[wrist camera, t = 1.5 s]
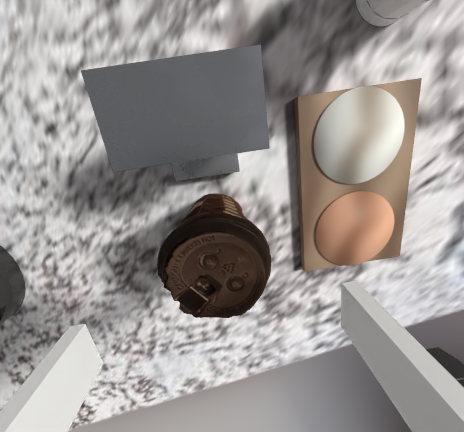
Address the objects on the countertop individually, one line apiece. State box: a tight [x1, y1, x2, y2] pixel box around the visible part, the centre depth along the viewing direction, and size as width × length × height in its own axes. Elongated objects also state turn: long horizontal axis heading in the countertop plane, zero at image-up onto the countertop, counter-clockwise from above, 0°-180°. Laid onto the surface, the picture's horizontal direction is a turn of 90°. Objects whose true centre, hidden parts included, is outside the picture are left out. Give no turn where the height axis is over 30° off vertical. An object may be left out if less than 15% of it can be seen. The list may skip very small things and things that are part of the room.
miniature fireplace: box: [81, 45, 269, 181], centre depth 18 cm, size 9×8×13 cm
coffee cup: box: [157, 194, 271, 318], centre depth 21 cm, size 9×8×13 cm
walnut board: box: [294, 78, 422, 271], centre depth 26 cm, size 13×21×2 cm, turn 8°
